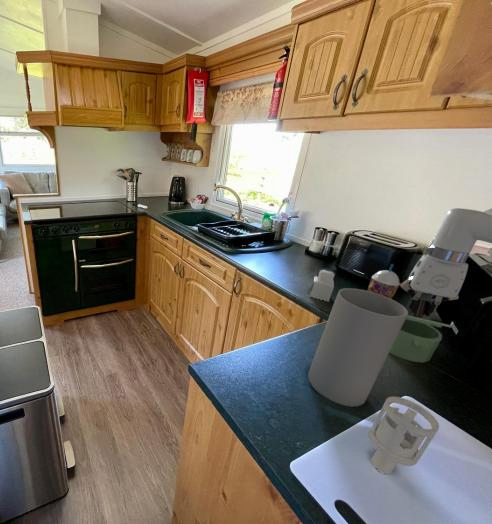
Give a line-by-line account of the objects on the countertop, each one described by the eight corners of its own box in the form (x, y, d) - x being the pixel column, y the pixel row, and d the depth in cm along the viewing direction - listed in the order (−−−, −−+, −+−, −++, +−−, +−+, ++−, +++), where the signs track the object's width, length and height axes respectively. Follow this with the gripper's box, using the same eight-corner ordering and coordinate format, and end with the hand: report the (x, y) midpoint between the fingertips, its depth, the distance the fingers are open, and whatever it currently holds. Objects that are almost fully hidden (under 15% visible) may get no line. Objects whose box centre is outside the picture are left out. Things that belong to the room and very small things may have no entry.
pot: (414, 338, 96) (426, 317, 93) (442, 375, 80) (456, 351, 77) (366, 326, 101) (375, 305, 98) (382, 359, 85) (394, 335, 82)
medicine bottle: (309, 290, 125) (317, 265, 121) (328, 295, 122) (337, 269, 118) (308, 297, 119) (317, 270, 115) (328, 302, 116) (338, 275, 112)
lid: (426, 323, 91) (431, 303, 91) (466, 333, 77) (473, 309, 77) (374, 311, 94) (379, 291, 94) (403, 318, 80) (409, 295, 80)
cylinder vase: (296, 372, 77) (325, 289, 68) (334, 367, 80) (366, 287, 71) (335, 412, 66) (376, 319, 56) (377, 404, 69) (423, 314, 59)
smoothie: (356, 310, 112) (376, 263, 104) (361, 303, 117) (380, 258, 110) (383, 320, 106) (406, 270, 99) (386, 312, 112) (408, 265, 104)
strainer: (352, 460, 55) (382, 402, 50) (366, 441, 59) (395, 386, 54) (397, 494, 50) (436, 434, 45) (409, 472, 54) (447, 414, 48)
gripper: (415, 252, 78) (388, 310, 85) (495, 265, 73) (459, 326, 79) (405, 245, 85) (380, 299, 92) (478, 256, 79) (446, 314, 86)
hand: (417, 311), depth 86 cm, fingers closed on lid, 2 cm apart
